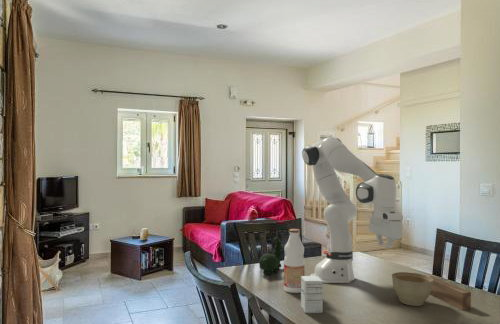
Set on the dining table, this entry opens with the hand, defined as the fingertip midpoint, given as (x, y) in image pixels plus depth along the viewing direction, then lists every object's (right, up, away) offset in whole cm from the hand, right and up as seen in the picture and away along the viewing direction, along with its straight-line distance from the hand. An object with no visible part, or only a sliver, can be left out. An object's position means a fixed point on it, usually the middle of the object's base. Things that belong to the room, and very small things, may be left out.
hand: (384, 246), depth 167 cm
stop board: (+29, -24, +6) cm, 38 cm away
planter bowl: (+13, -25, +3) cm, 28 cm away
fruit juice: (-36, -24, +18) cm, 47 cm away
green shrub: (-45, -24, +49) cm, 70 cm away
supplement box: (-31, -24, -7) cm, 40 cm away
